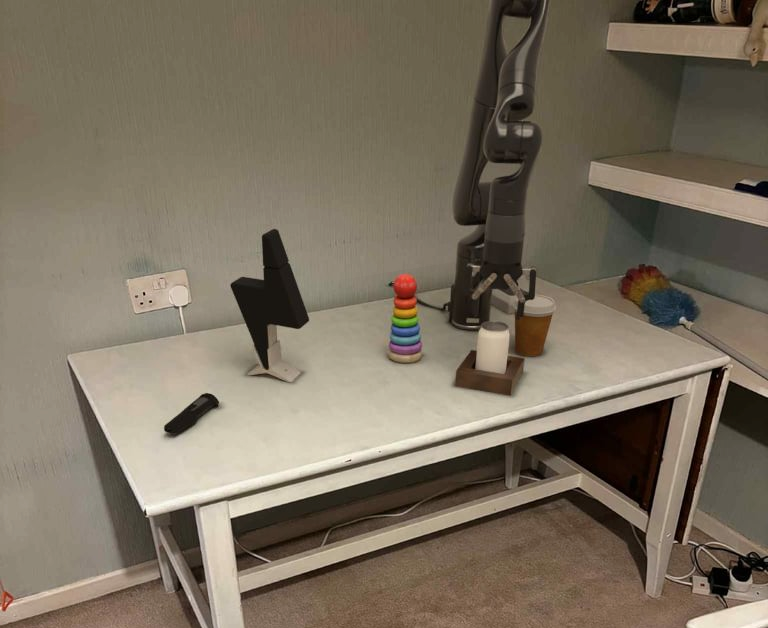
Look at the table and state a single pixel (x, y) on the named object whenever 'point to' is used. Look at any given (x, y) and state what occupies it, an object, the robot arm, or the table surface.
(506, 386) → the can stand
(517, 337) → the disposable coffee cup
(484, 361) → the can
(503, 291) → the keypad
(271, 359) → the award
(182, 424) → the electric trimmer
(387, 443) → the table surface
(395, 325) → the stacking toy
